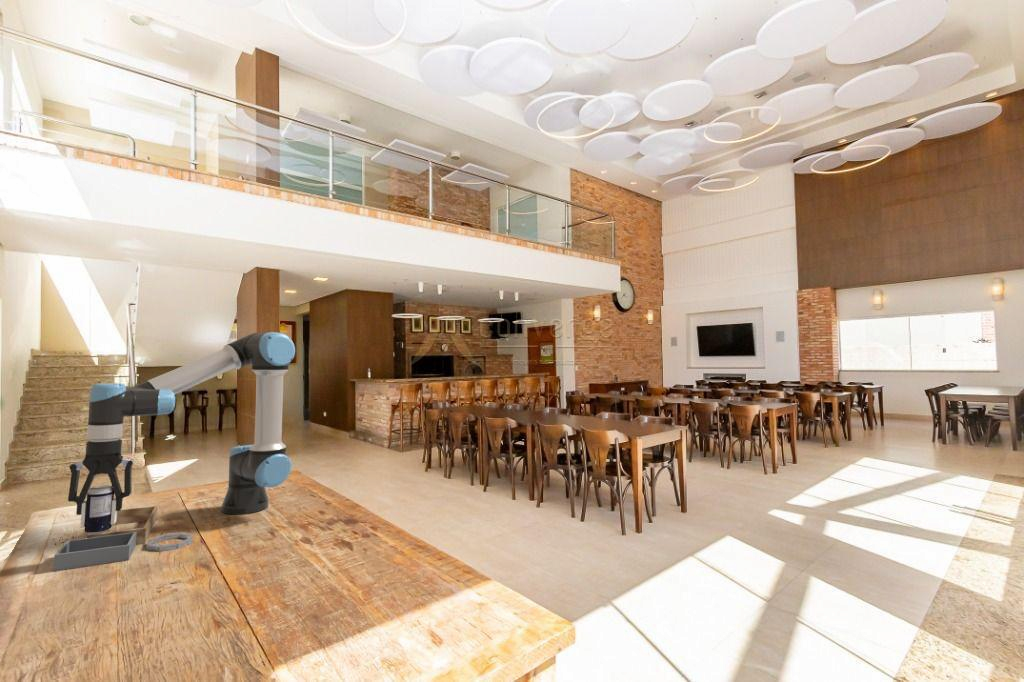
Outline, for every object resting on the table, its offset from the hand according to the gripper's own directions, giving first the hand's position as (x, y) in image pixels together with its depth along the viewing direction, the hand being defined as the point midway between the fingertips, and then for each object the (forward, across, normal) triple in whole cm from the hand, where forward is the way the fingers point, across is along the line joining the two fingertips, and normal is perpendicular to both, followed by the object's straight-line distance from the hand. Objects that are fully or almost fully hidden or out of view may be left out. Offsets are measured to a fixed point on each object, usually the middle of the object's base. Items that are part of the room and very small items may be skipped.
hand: (98, 524), depth 131 cm
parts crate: (+9, -3, -19) cm, 21 cm away
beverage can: (+2, 0, 0) cm, 2 cm away
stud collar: (+9, -16, -4) cm, 19 cm away
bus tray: (+9, 0, 0) cm, 9 cm away
